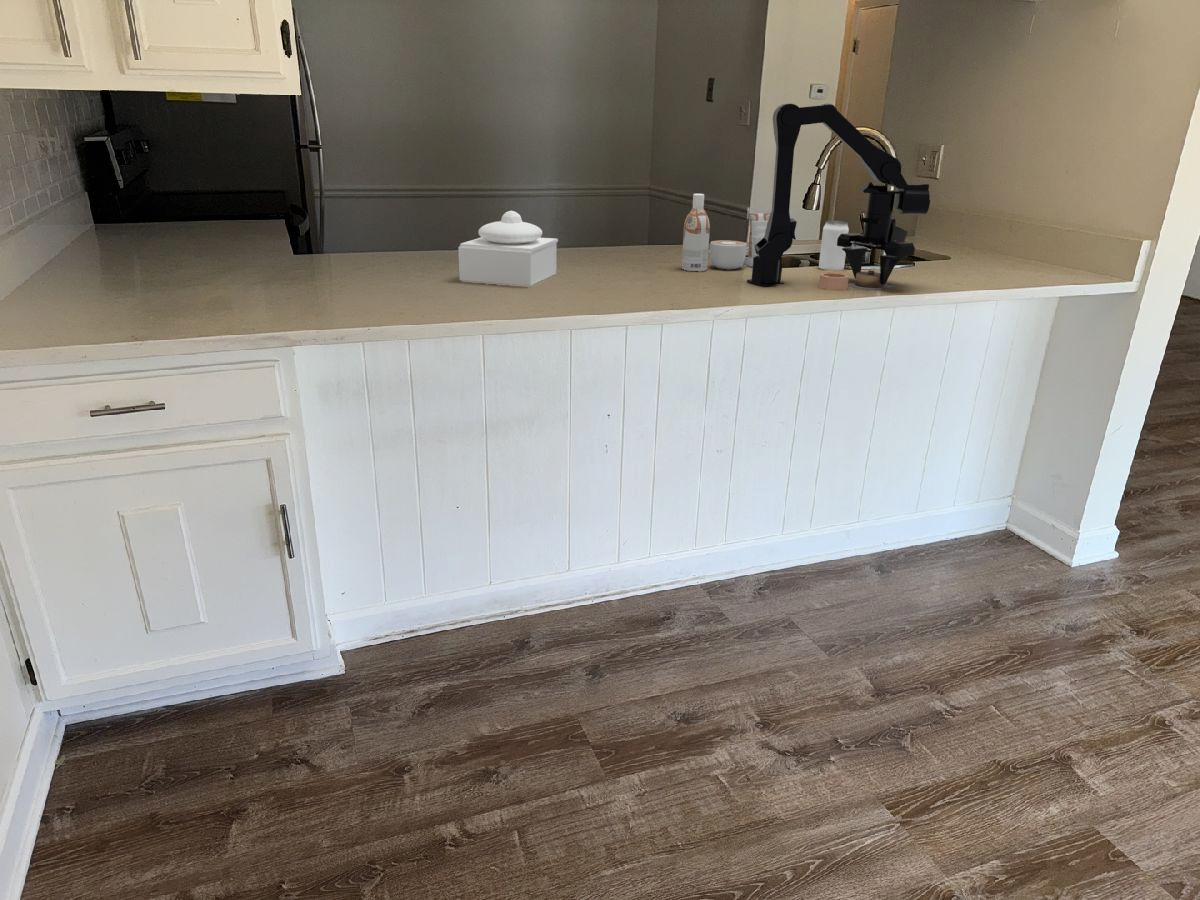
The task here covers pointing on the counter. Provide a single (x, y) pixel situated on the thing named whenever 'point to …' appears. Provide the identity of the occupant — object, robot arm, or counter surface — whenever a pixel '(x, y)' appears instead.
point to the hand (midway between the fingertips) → (869, 281)
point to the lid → (868, 279)
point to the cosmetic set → (720, 251)
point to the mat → (869, 288)
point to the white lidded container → (508, 253)
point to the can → (832, 246)
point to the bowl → (833, 281)
